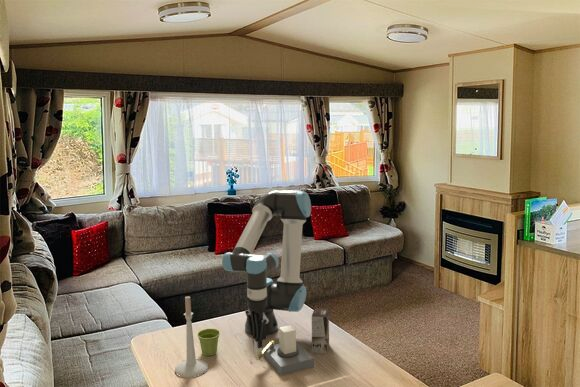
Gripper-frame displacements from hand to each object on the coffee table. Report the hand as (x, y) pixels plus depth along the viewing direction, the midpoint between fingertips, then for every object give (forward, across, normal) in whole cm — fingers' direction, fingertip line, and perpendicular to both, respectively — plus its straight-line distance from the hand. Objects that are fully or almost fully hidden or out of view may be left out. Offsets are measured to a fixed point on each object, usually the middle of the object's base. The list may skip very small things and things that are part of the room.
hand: (258, 354), depth 190 cm
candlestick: (+6, -17, -20) cm, 27 cm away
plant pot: (+6, -24, -7) cm, 26 cm away
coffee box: (+6, +6, +29) cm, 30 cm away
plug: (+5, +5, +11) cm, 13 cm away
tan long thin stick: (0, 0, +4) cm, 4 cm away
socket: (+5, +5, +11) cm, 13 cm away
